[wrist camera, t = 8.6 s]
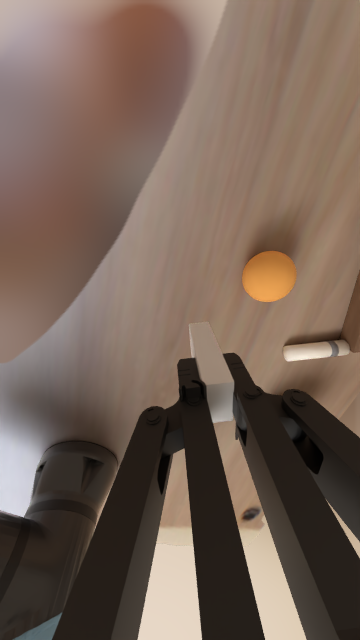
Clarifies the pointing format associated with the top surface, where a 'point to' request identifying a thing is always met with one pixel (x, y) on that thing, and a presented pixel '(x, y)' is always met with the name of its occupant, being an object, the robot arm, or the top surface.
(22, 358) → the top surface
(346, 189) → the top surface
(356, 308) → the brown wooden bar
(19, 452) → the top surface
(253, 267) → the ball
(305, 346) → the pin
